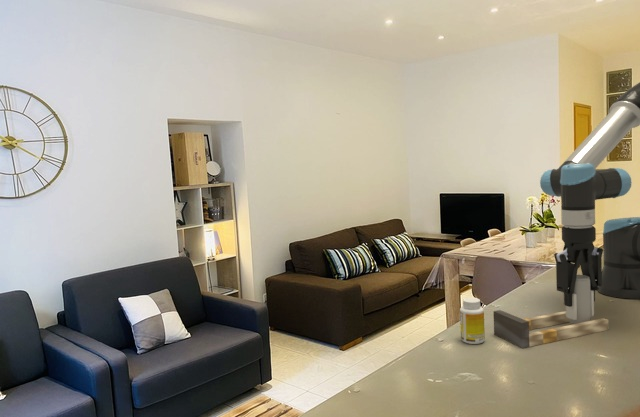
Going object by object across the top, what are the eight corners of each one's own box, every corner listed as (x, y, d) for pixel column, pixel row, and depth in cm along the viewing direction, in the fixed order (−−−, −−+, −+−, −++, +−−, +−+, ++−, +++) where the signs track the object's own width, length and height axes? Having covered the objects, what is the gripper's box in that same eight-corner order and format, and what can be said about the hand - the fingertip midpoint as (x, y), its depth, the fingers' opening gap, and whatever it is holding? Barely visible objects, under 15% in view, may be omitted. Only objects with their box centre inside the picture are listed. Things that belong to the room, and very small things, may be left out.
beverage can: (593, 326, 121) (593, 279, 120) (572, 326, 122) (571, 279, 121) (587, 319, 126) (586, 274, 125) (567, 319, 127) (566, 274, 126)
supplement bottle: (489, 341, 117) (488, 300, 116) (472, 346, 115) (471, 304, 114) (473, 335, 122) (472, 295, 121) (456, 339, 120) (454, 299, 119)
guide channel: (575, 318, 130) (575, 296, 129) (608, 329, 120) (608, 306, 120) (494, 334, 122) (493, 311, 121) (522, 348, 112) (521, 322, 112)
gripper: (561, 231, 115) (563, 326, 117) (618, 223, 121) (619, 314, 123) (538, 228, 122) (540, 318, 125) (593, 220, 128) (594, 306, 130)
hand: (579, 316), depth 124 cm, fingers closed on beverage can, 5 cm apart
